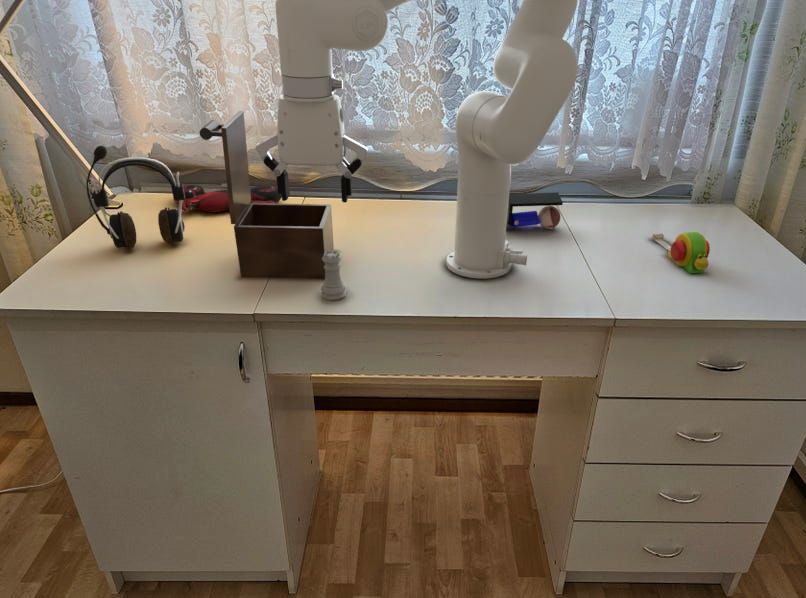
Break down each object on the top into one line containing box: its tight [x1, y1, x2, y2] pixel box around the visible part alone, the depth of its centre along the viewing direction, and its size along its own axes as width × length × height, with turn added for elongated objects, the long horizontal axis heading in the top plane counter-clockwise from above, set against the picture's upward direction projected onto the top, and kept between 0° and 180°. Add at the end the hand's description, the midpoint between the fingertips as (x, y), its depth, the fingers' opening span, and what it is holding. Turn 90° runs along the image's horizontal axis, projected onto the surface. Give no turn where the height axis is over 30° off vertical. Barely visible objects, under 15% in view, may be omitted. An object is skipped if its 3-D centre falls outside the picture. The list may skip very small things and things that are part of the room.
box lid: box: [199, 110, 251, 225], centre depth 116 cm, size 16×13×5 cm
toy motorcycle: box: [175, 184, 282, 213], centre depth 150 cm, size 25×5×16 cm
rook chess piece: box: [320, 250, 347, 302], centre depth 113 cm, size 4×4×8 cm
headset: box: [85, 145, 186, 251], centre depth 126 cm, size 17×8×20 cm, turn 110°
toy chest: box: [233, 202, 335, 280], centre depth 124 cm, size 16×13×10 cm
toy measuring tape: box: [651, 231, 711, 274], centre depth 131 cm, size 6×20×7 cm, turn 9°
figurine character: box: [506, 192, 563, 230], centre depth 143 cm, size 7×8×15 cm
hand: (315, 199), depth 107 cm, fingers open, 9 cm apart
